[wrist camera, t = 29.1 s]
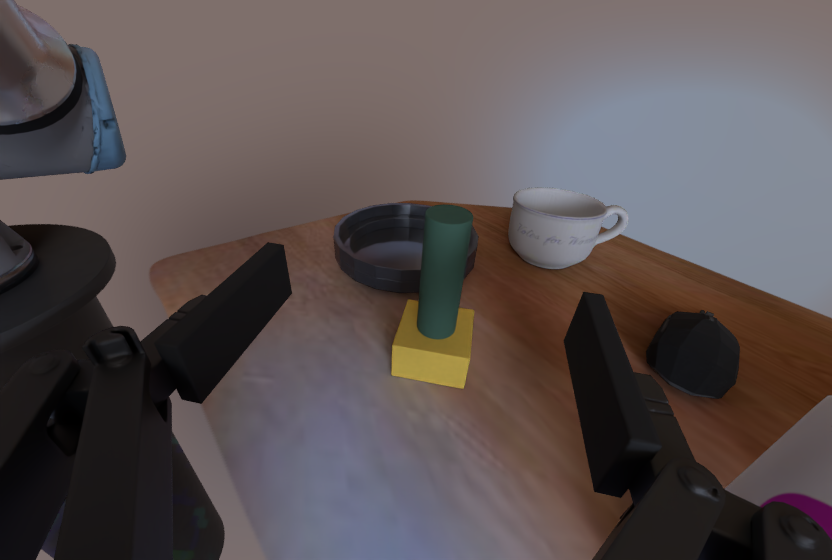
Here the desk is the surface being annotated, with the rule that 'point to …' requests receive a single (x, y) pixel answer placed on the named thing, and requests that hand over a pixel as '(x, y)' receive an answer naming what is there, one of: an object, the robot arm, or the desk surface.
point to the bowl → (387, 246)
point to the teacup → (559, 226)
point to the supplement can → (795, 469)
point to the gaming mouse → (695, 354)
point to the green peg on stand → (438, 305)
